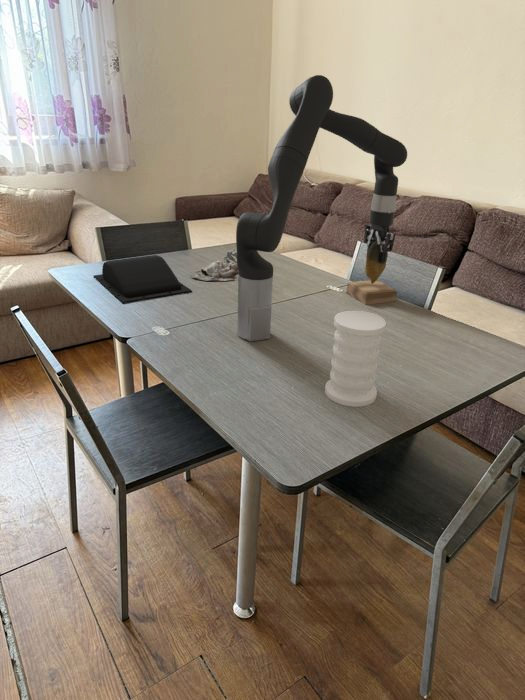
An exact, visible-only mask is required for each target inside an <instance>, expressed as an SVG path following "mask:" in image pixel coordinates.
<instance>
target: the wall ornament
mask: <svg viewBox="0 0 525 700" xmlns="http://www.w3.org/2000/svg"><path fill="white" fill-rule="evenodd" d="M234 257H235V258H236V259H237V249H230V250H227V251H226V254H225V256H224V257H223V262H222V261H221V260H217V261H212V262H211V263H210V264H208V265H207V266H206V265H205V266H203V267H201V268H200V269H195V270H194V271H193V273H190V277H189V278H192V279H196V280H200V281H206V282H208V281H220V282H226V281H235V280H237V281H238V276H239V270H238V266H237V260H236V259H235V258H234ZM230 261H232V262H230ZM203 272H206V275H205V274H203ZM194 273H196V274H194ZM194 275H195V276H194Z"/></svg>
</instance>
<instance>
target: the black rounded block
mask: <svg viewBox="0 0 525 700" xmlns="http://www.w3.org/2000/svg"><path fill="white" fill-rule="evenodd" d="M101 271H102V273H101V274H95V275H92V276H93V278H94V279H95V278H96V279H97V280H98V281H99V282H100V283H99V282H98V281H97V280H96V279H95V280H96V281H97V282H98V283H99V284H100V285H102V287H104V289H106V290H107V291H108V293H110V294H111V295H113V297H115V298H116V299H117V300H118V301H119V302H120V303H121V304H123V305H124V304H129V303H135V302H142V301H147V300H154V299H159V298H166V297H171V296H178V295H182V294H183V293H184V294H188V293H189V292H190V293H192V292H193V290H192V289H190V288H189V287H188V286H186V285H184V284H183V283H181V282H180V281H179V279H178V278H177V276H176V275H175V273H174V272H173V270H172V267H170V266H169V264H168V263H167V262H166V260H165V259H164V258H163V257H162V256H160V255H156V254H154V255H144V256H137V257H136V256H135V257H129V258H118V259H113V260H107V261H104V262H103V264H102V270H101ZM177 294H178V295H177ZM184 294H183V295H184Z"/></svg>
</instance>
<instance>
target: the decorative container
mask: <svg viewBox="0 0 525 700" xmlns="http://www.w3.org/2000/svg"><path fill="white" fill-rule="evenodd" d="M333 321H334V322H333V326H334V327H335V328H336V330H335V331H334V335H333V336H334V337H333V338H334V344H333V346H332V353H333V356H332V357H331V362H330V363H331V367H332V368H331V370H330V372H329V380H327V381H326V383H325V387H324V388H325V389H324V393H325V395H326V397H327V398H328V399H330V400H331V401H332V402H334V403H336V404H338V405H342V406H345V407H353V408H355V407H358V408H359V407H364V406H369V405H371V404H372V403H374V402H375V401H376V398H377V395H378V391H377V388H376V386H375V383H376V372H377V370H378V360H379V358H380V352H381V351H380V348H379V347H380V346H381V344H382V341H383V339H382V333H384V332H385V331H386V329H387V328H386V327H387V323H386V320H385V319H384V318H383V317H381V315H378V314H376V313H372V312H369V311H362V310H346V311H341V312H339V313H337V314H335V316H334V319H333Z"/></svg>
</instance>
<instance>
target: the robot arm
mask: <svg viewBox="0 0 525 700" xmlns="http://www.w3.org/2000/svg"><path fill="white" fill-rule="evenodd" d="M333 99H334V89H333V85H332V83H331V80H330V79H329V78H328V77H327V76H324V75H322V74H321V75H320V74H316V75H313V76H309V78H306V80H305V81H303V82H302V83H300V85H298V86H297V87H296V88H295V89H294V90H292V92H291V93H290V95H289V100H288V101H289V104H288V105H289V107H290V110H291V112H292V113H293V114H294V115H295V117H294V119H293V120H292V122H291V123H290V124H289V125H288V128H286V130H285V131H284V133H283V134H282V136H281V137H280V139H279V140H278V142H277V144H276V145H275V148H274V150H273V152H272V155H271V157H270V161H269V163H268V167H267V176H268V180H269V184H270V188H271V191H272V195H273V203H272V206H271V210H270V212H269V214H265V213H258V212H249V211H246V212H244V213H242V214H240V216H239V218H238V221H237V223H236V231H235V232H236V233H235V235H236V236H235V241H236V244H235V245H236V250H237V258H236V262H237V263H236V264H237V266H238V270H239V273H238V275H239V276H238V280H237V281H238V283H237V287H238V289H237V324H236V325H237V333H236V334H237V336H238V337H239V338H241V339H243V340H247V341H248V342H255V341H262V340H270V339H271V328H272V326H271V324H272V323H271V321H272V305H273V304H272V302H273V285H274V284H273V282H274V266H273V264H272V263H271V262H270V261H268V260H266V258H264V257H262V255H260V253H259V252H264V253H272V252H275V251H276V249H277V248H278V246H279V245H280V242H281V240H282V237H283V234H284V231H285V227H286V223H287V219H288V215H289V213H290V209H291V206H292V203H293V200H294V197H295V194H296V191H297V188H298V187H299V184H300V182H301V181H300V180H301V179H302V177H303V174H304V171H305V169H306V166H307V164H308V159H309V157H310V154H311V151H312V148H313V146H314V144H315V141H316V138H317V135H318V132H319V131H320V129H323V130H325V131H327V132H328V133H331V134H333V135H336V136H338V137H340V138H341V139H344V140H345V141H347V142H349V143H351V144H352V145H353V146H355V147H356V148H358V149H359V150H361V151H363V152H365V153H367V154H370V155H373V156H374V157H373V165H374V177H375V178H374V179H375V183H374V189H373V195H372V199H371V205H370V211H369V212H370V213H369V219H368V222H369V224H365V226H364V237H363V242H364V244H366V246H367V248H366V252H367V251H368V249H369V247H370V246H371V245H372V243H373V242H374V241H377V242H378V245H379V247H380V253H379V260H378V263H380V264H382V263H385V261H386V254H387V252H390V253H391V252H393V247H394V243H395V239H396V233H394V232H393V233H392V232H391V231H390V227H391V226H392V225H393V224H394V219H395V218H394V217H395V212H396V206H397V194H398V185H399V178H398V176H397V175H395V173H394V168H397V167H400V166H402V165H403V164H404V163H405V162H406V161H407V158H408V150H407V147H406V146H405V145H404V143H402V142H401V141H399V140H397V139H396V138H395V137H392V136H391V135H388V134H385V133H384V132H382V131H381V130H379V129H378V128H377V127H375V126H374V125H372V124H371V123H369V122H368V121H367V120H365V119H362V118H360V117H357V116H354V115H349V114H345V113H341V112H337V111H334V110H332V109H330V108H331V106H332V103H333ZM383 245H384V248H383Z"/></svg>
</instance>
